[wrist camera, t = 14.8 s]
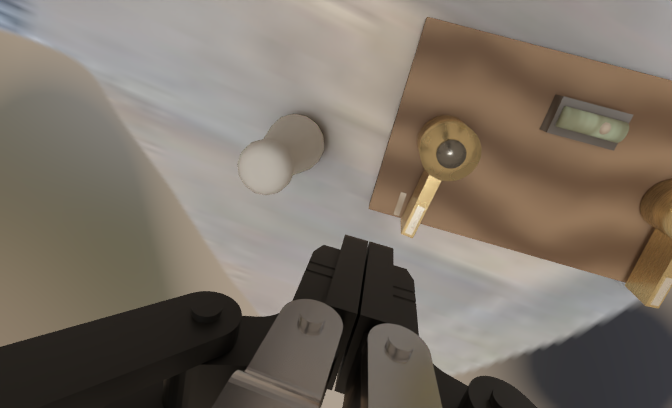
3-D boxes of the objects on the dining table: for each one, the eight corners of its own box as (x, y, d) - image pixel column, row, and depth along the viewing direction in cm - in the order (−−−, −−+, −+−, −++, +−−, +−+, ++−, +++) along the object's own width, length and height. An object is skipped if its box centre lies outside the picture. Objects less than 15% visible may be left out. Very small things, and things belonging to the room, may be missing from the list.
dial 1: (430, 107, 35) (436, 115, 30) (479, 126, 35) (494, 137, 30) (383, 211, 40) (382, 233, 35) (427, 228, 40) (432, 253, 35)
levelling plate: (426, 18, 34) (430, 12, 30) (745, 102, 33) (798, 108, 29) (369, 203, 42) (366, 220, 37) (629, 278, 40) (658, 304, 36)
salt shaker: (338, 134, 39) (314, 166, 27) (308, 175, 41) (273, 222, 29) (293, 99, 39) (248, 117, 27) (265, 143, 41) (211, 177, 29)
